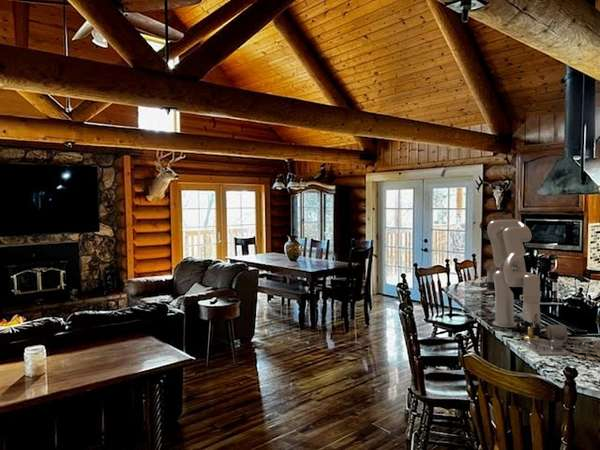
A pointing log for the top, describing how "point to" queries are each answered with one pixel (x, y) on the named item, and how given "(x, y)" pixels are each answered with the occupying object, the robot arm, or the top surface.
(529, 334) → the brass door knob
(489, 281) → the milk frother
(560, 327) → the ceramic mug
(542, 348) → the carrier
